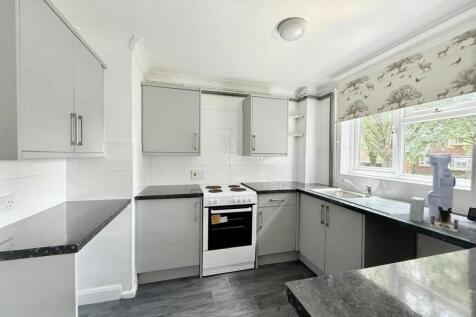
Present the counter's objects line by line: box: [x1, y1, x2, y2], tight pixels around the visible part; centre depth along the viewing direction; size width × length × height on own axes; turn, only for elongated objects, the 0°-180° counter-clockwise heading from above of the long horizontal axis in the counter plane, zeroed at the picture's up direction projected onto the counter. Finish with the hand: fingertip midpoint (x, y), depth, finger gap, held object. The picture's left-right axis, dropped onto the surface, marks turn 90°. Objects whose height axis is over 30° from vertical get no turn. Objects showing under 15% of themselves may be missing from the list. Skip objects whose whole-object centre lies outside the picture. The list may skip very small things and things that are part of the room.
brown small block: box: [437, 213, 452, 224], centre depth 118 cm, size 5×5×4 cm
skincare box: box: [408, 196, 426, 223], centre depth 131 cm, size 8×6×15 cm
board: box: [430, 220, 459, 233], centre depth 120 cm, size 15×11×1 cm
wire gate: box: [430, 216, 459, 230], centre depth 120 cm, size 3×11×5 cm, turn 44°
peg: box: [438, 222, 449, 231], centre depth 116 cm, size 4×4×3 cm
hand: (444, 220), depth 118 cm, fingers closed on brown small block, 5 cm apart
